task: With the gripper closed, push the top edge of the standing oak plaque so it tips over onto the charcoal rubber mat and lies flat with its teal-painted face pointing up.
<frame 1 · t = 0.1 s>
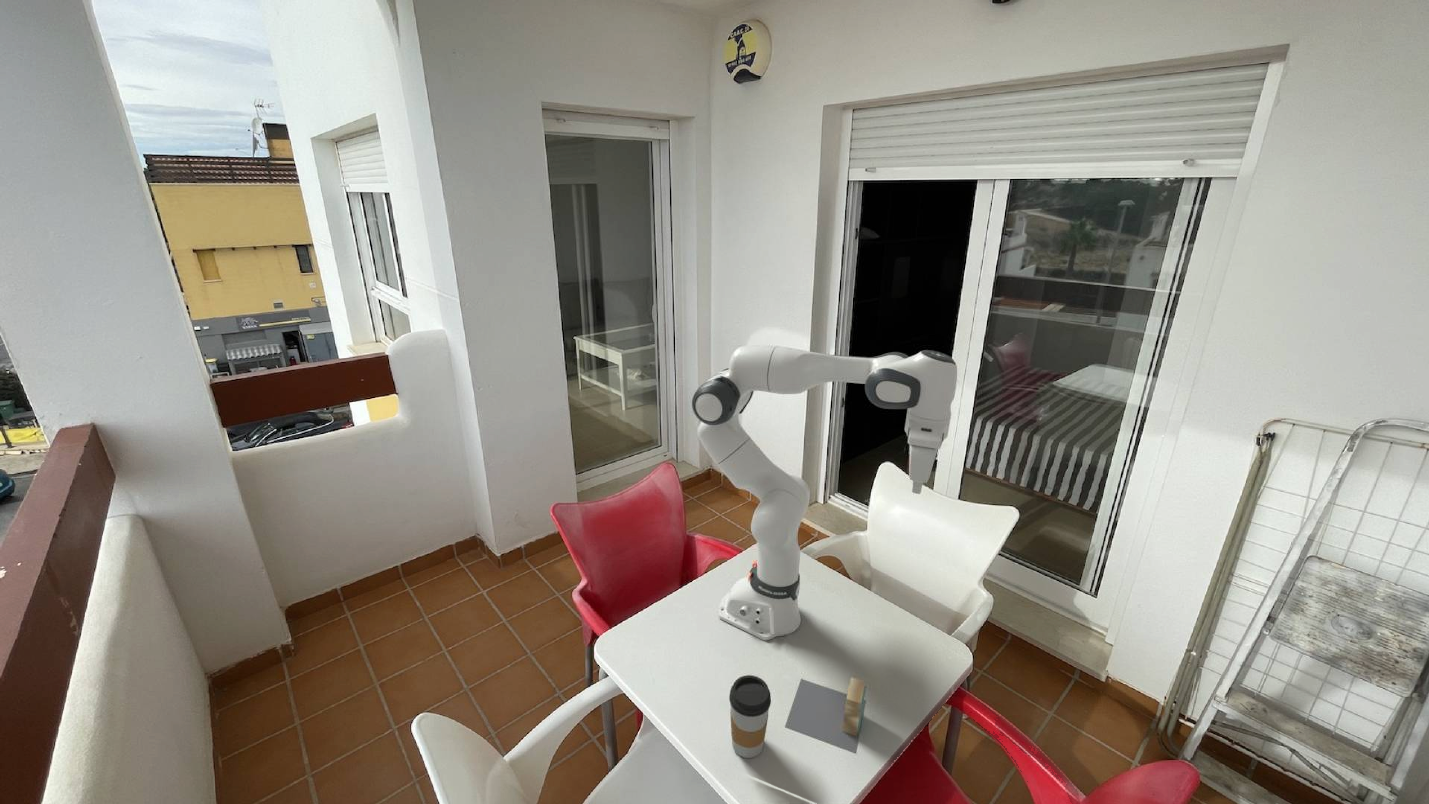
hand: (917, 483, 122), 48 cm above the table, fingers open, 8 cm apart
mat: (826, 715, 120), on the table
plaque: (851, 722, 117), resting on mat
coffee cup: (747, 746, 112), on the table
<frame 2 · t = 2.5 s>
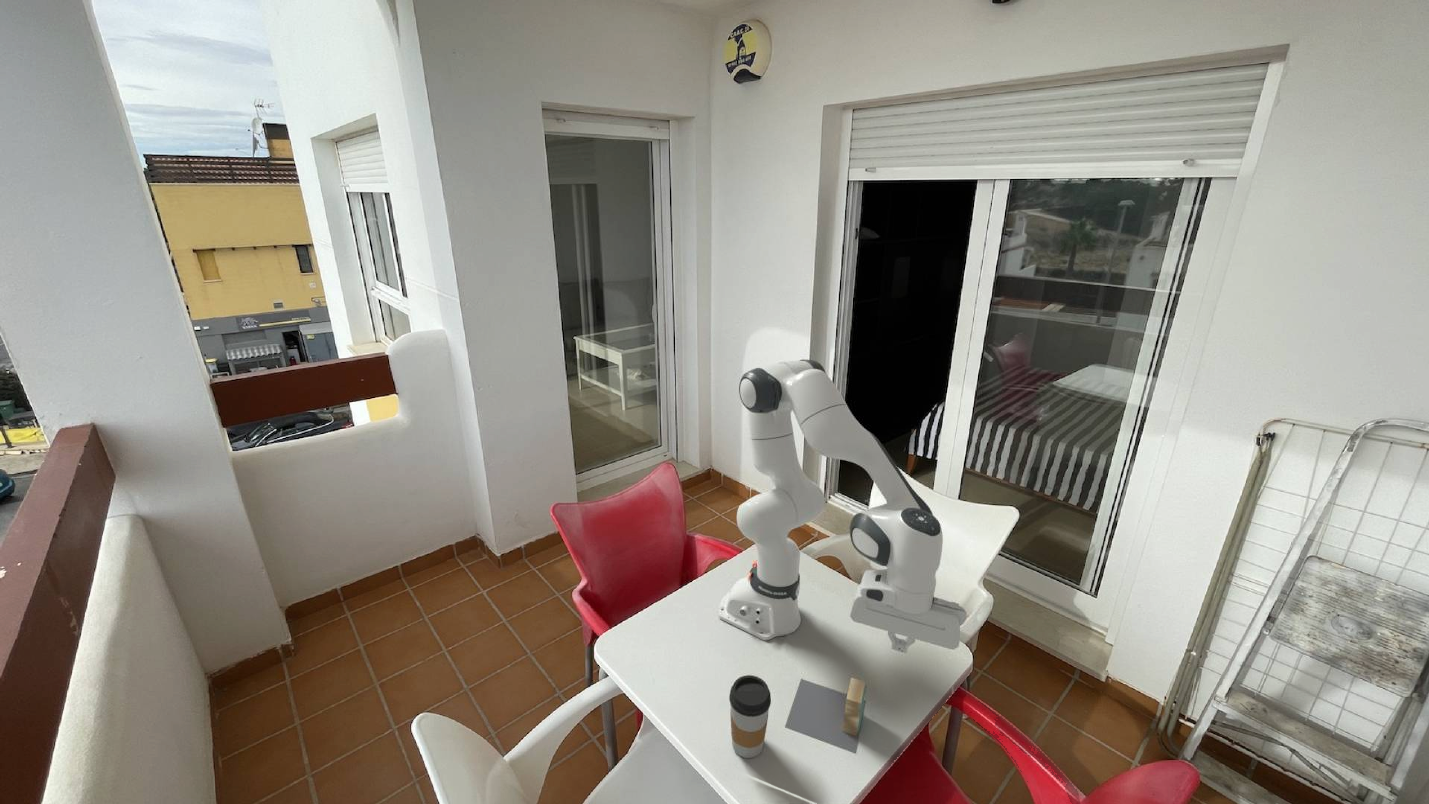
hand: (899, 649, 108), 23 cm above the table, fingers closed
nothing on the table moved.
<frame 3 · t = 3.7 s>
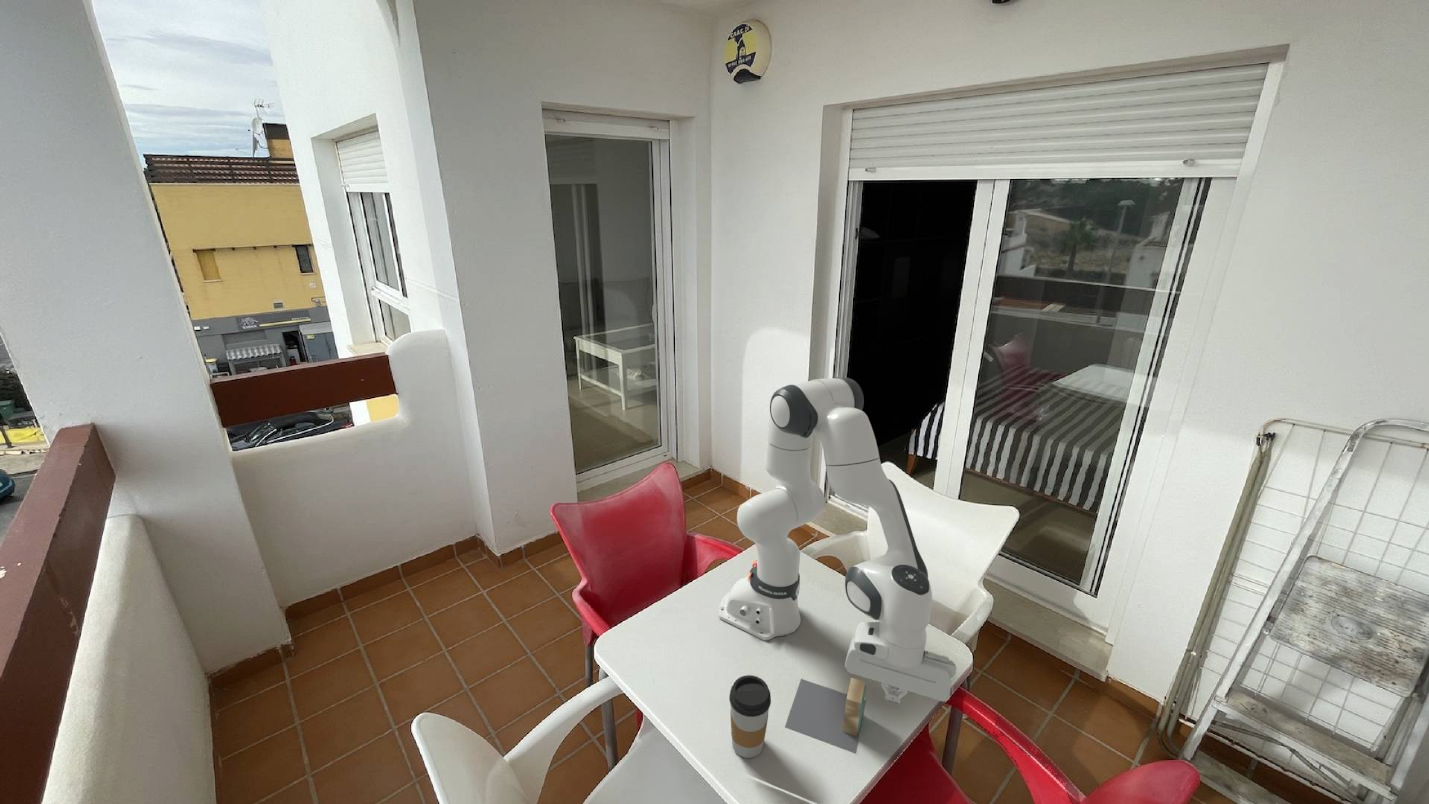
hand: (892, 699, 111), 11 cm above the table, fingers closed
nothing on the table moved.
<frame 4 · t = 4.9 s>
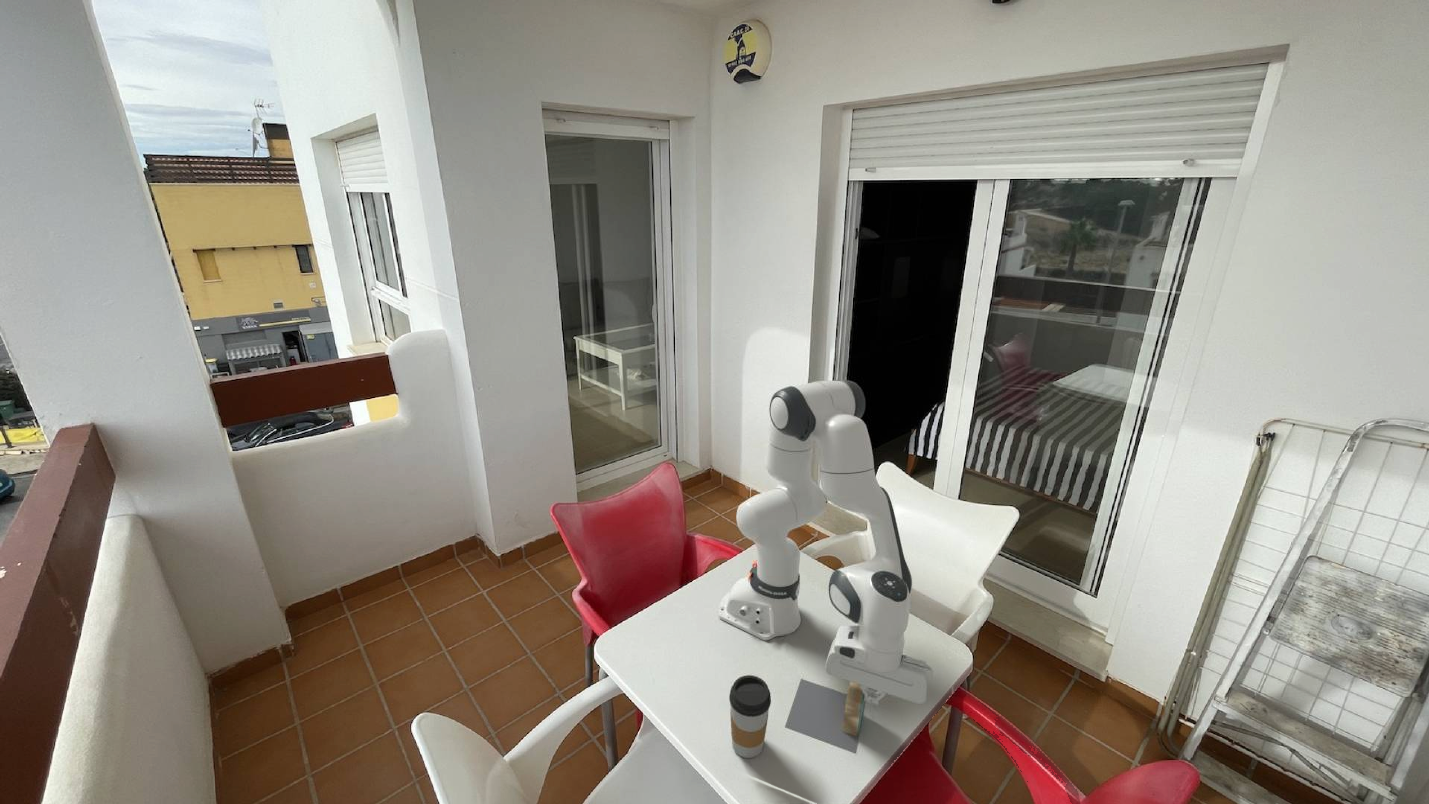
hand: (871, 700, 114), 8 cm above the table, fingers closed
plaque: (851, 722, 117), point 1 cm above the table, touching gripper, mat
everything else where it was.
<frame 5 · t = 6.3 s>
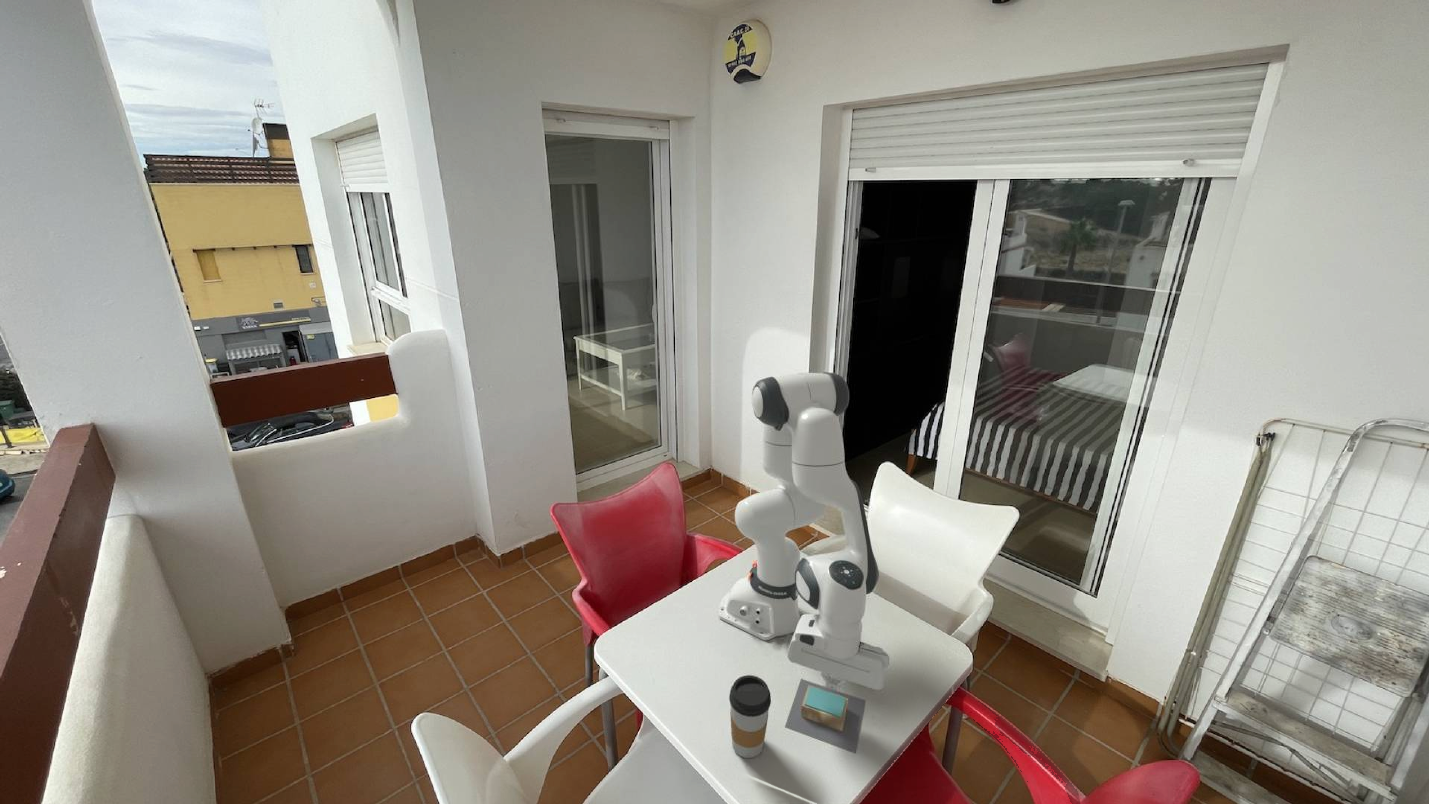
hand: (832, 687, 117), 8 cm above the table, fingers closed
plaque: (845, 714, 118), point 2 cm above the table, tilted 90°, touching mat
everything else where it was.
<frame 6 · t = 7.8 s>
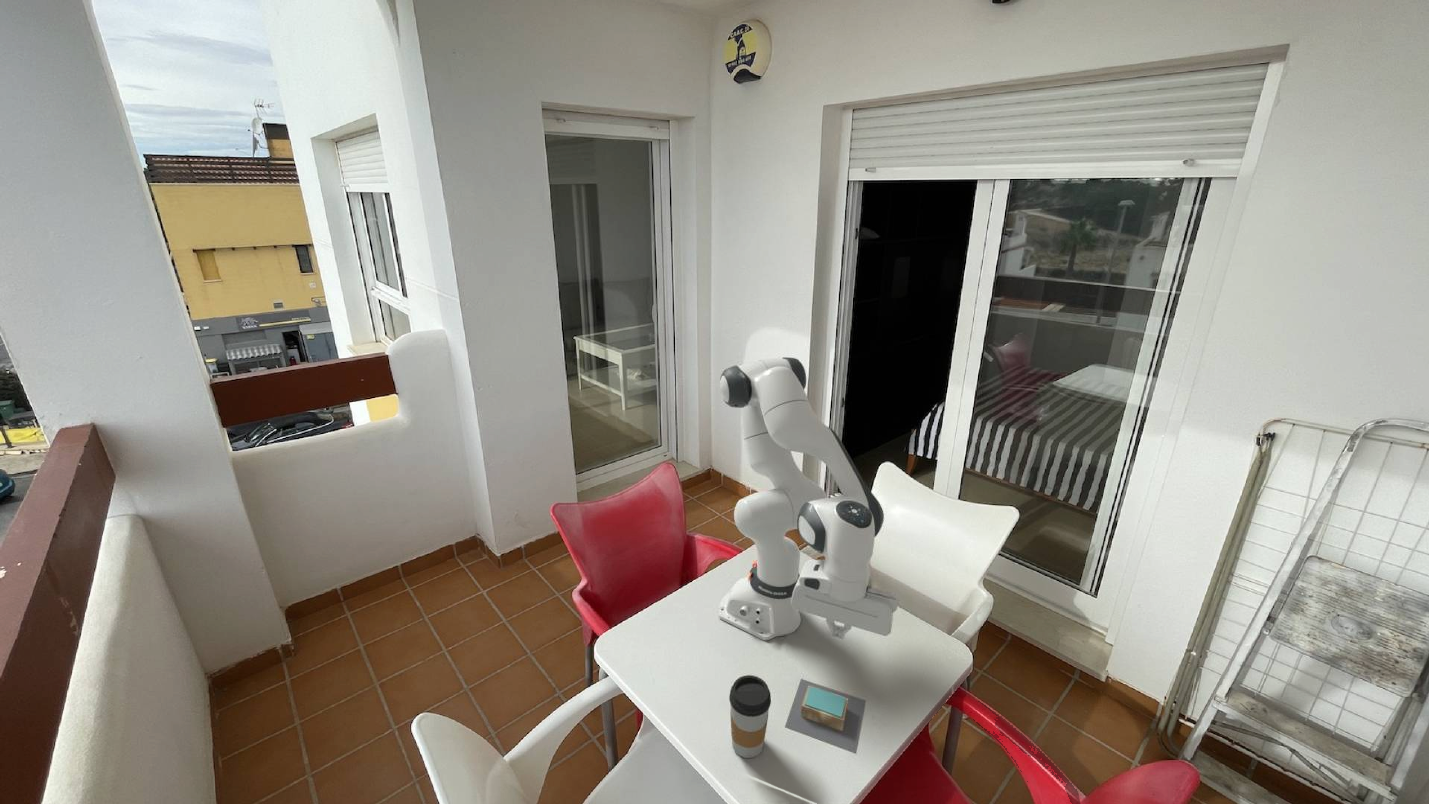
hand: (837, 635, 113), 22 cm above the table, fingers closed
nothing on the table moved.
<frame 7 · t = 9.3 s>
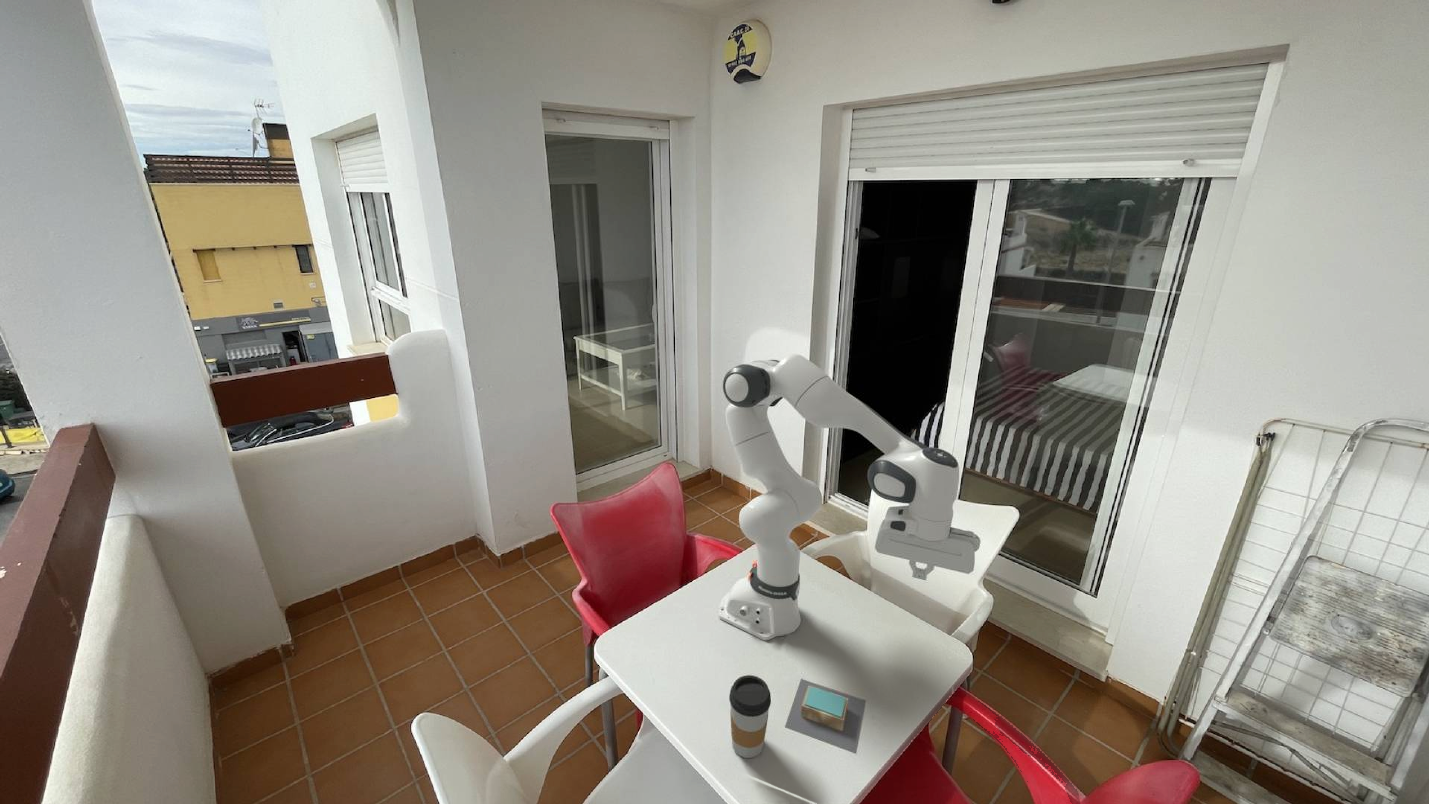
hand: (919, 577, 120), 29 cm above the table, fingers closed
nothing on the table moved.
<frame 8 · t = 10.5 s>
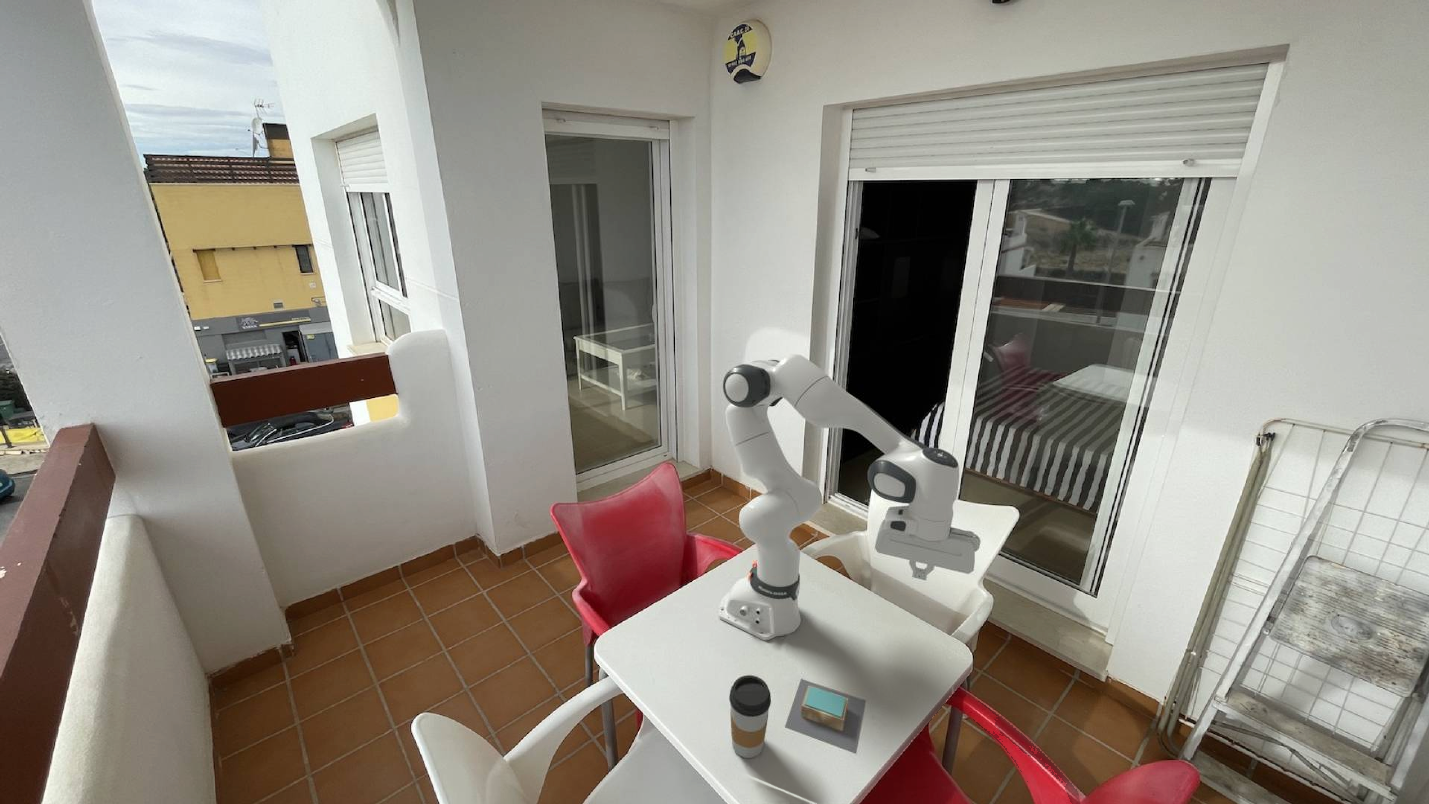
hand: (919, 577, 120), 29 cm above the table, fingers closed
nothing on the table moved.
at the end: plaque tilted 90°; plaque inside the target area (1.0 cm from its centre), point 2.0 cm above the table; plaque touching mat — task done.
